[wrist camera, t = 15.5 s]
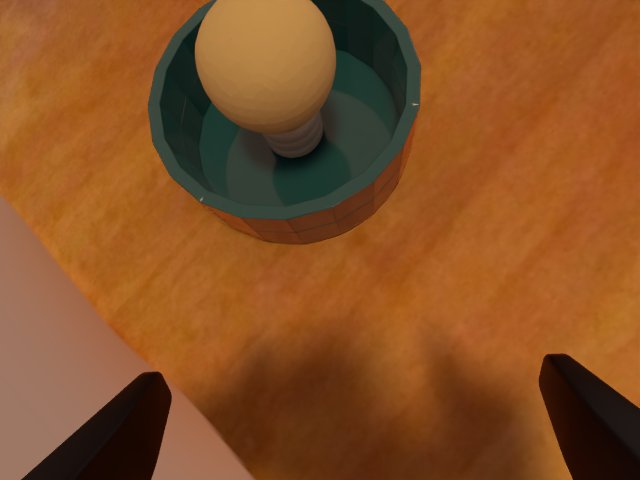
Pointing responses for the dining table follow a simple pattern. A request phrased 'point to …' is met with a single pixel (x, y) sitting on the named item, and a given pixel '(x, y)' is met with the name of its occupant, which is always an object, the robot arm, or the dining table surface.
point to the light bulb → (269, 68)
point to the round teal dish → (318, 165)
